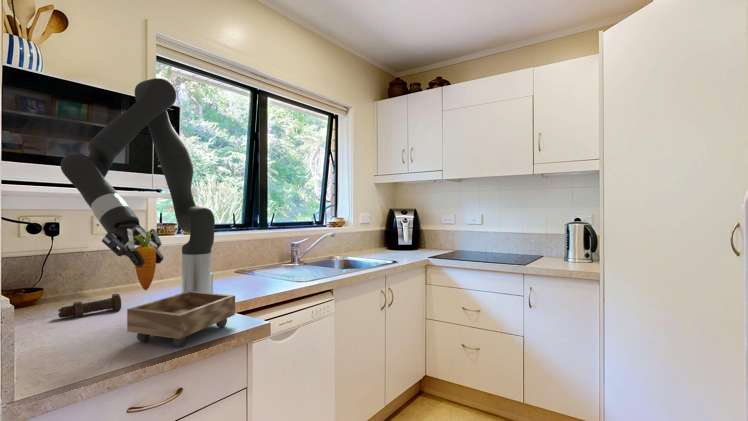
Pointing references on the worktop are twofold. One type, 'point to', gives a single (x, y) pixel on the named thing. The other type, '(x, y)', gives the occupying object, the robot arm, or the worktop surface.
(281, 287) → the worktop surface
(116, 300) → the bolt
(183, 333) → the caster cart
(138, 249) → the carrot
